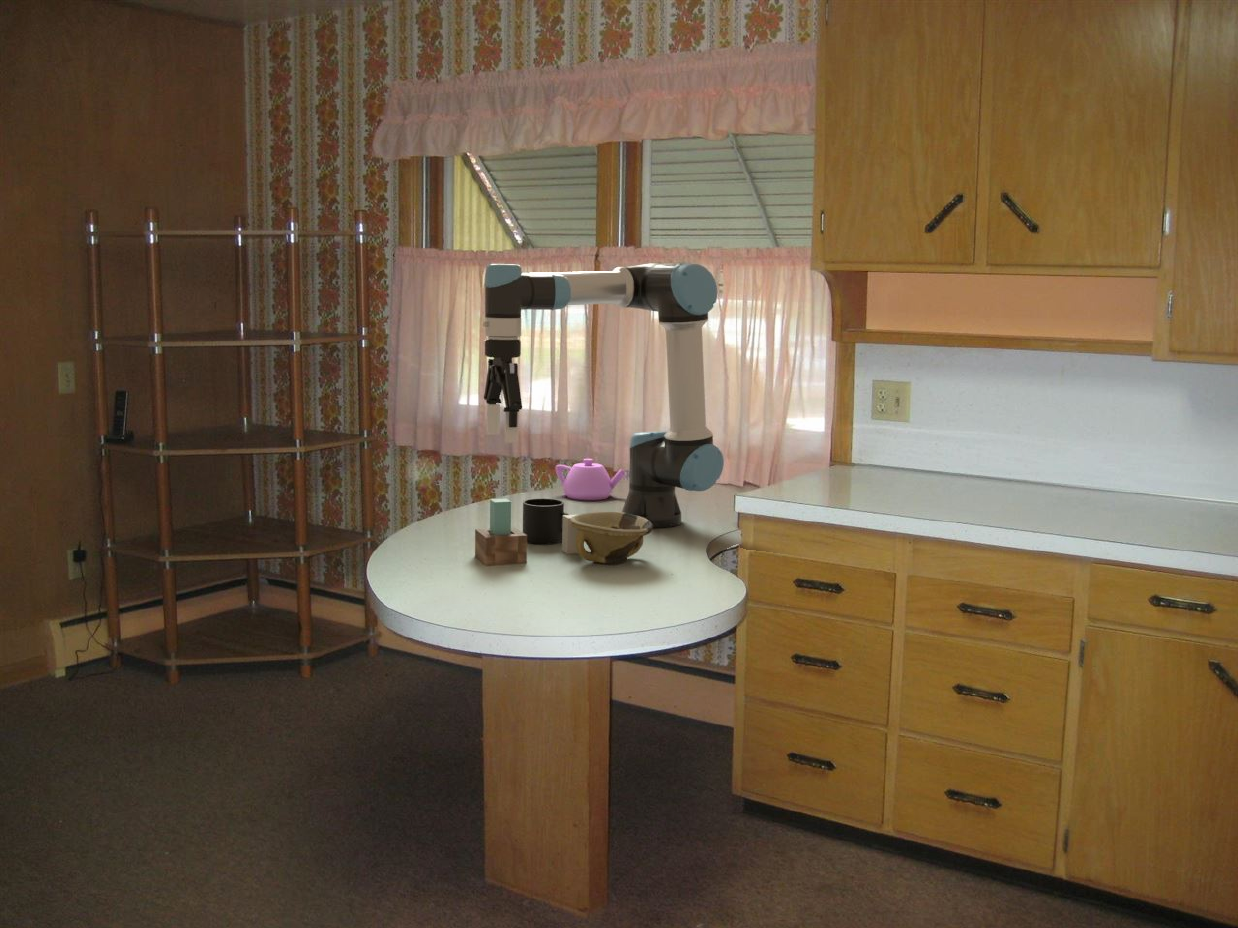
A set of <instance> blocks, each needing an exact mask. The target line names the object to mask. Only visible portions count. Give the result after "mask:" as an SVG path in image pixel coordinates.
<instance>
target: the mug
mask: <svg viewBox="0 0 1238 928" xmlns="http://www.w3.org/2000/svg"><path fill="white" fill-rule="evenodd" d="M564 507H565V504H564V501H563V500H559V499H554V498H531V499H526V500H524V501H523V502H522V532H523V533H524V534H526V535H527V544H531V545H532V544H533V545H554V544H559V543H561V542H562V524H563V515H570V514H569V513H567V512H565V511H564V509H565V508H564Z"/></svg>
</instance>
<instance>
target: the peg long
mask: <svg viewBox="0 0 1238 928" xmlns="http://www.w3.org/2000/svg"><path fill="white" fill-rule="evenodd" d="M511 527H512V501H511V500H509V499H508V498H493V499H492V498H490V499H489V528H490V534H492V535H507V534H511Z"/></svg>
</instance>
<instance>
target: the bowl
mask: <svg viewBox="0 0 1238 928" xmlns="http://www.w3.org/2000/svg"><path fill="white" fill-rule="evenodd" d="M575 515H576V516H574V517H572V518H571V519H570V521H571V525H572V527H574V528H576V529H577V530H578V531H579V532H578V536H577V539H576V549H577V552H578V553H577V554H578V555H579V556H580V557H581V558H583V559H585V560H586V561H589V562H595V563H599V564H605V565H620V564H622V563H625V561H627V559H628V558H630V557H631V556H634V555H635V554H636V553H638V552H639V551H640V550H641V549H642V547H643V546H644V545H643V544H644V536H647V535H648V534H650V533H651V532H652V529H653V524H652V523H651V522H650V521H648V520H647V519H645V518H643V517H640V516H636V515H632V514H628V513H622V511H595V512H585V513H583V512H582V513H579V514H575ZM585 544H586V545H587V547H588V549H589V550H590V551H588V550H587V549H586V548H585Z"/></svg>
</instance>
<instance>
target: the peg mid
mask: <svg viewBox="0 0 1238 928" xmlns="http://www.w3.org/2000/svg"><path fill="white" fill-rule="evenodd" d="M576 515H577V514H569V515H563V524H562V541H561V542H562V543H561V550H562V552H564V553H565V554H567V555H568V554H569V555H571V554H579V553H578V552H577V549H576V539H577V536H578V532H579V531H578V530H577V529H576V528H574V527H572V525H571V521H570V519H571V518H572V517H574V516H576Z"/></svg>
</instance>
